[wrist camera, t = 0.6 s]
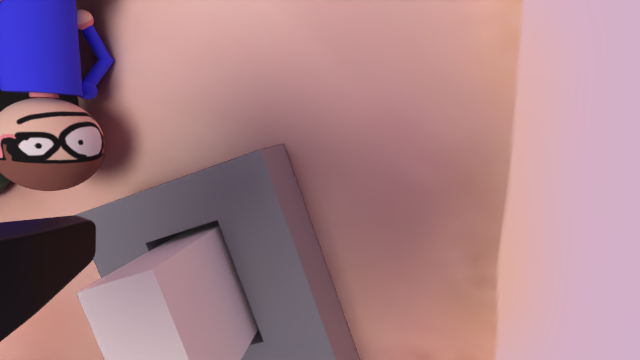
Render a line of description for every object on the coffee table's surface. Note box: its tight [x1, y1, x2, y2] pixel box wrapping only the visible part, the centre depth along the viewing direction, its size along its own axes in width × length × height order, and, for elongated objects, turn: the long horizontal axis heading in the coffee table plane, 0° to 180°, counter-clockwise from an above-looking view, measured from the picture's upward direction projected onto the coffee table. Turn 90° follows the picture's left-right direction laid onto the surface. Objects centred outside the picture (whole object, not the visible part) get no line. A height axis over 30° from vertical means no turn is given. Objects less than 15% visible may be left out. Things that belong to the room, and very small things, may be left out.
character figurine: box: [0, 0, 114, 191], centre depth 19 cm, size 8×7×15 cm
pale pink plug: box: [76, 220, 259, 360], centre depth 18 cm, size 4×6×8 cm, turn 19°
